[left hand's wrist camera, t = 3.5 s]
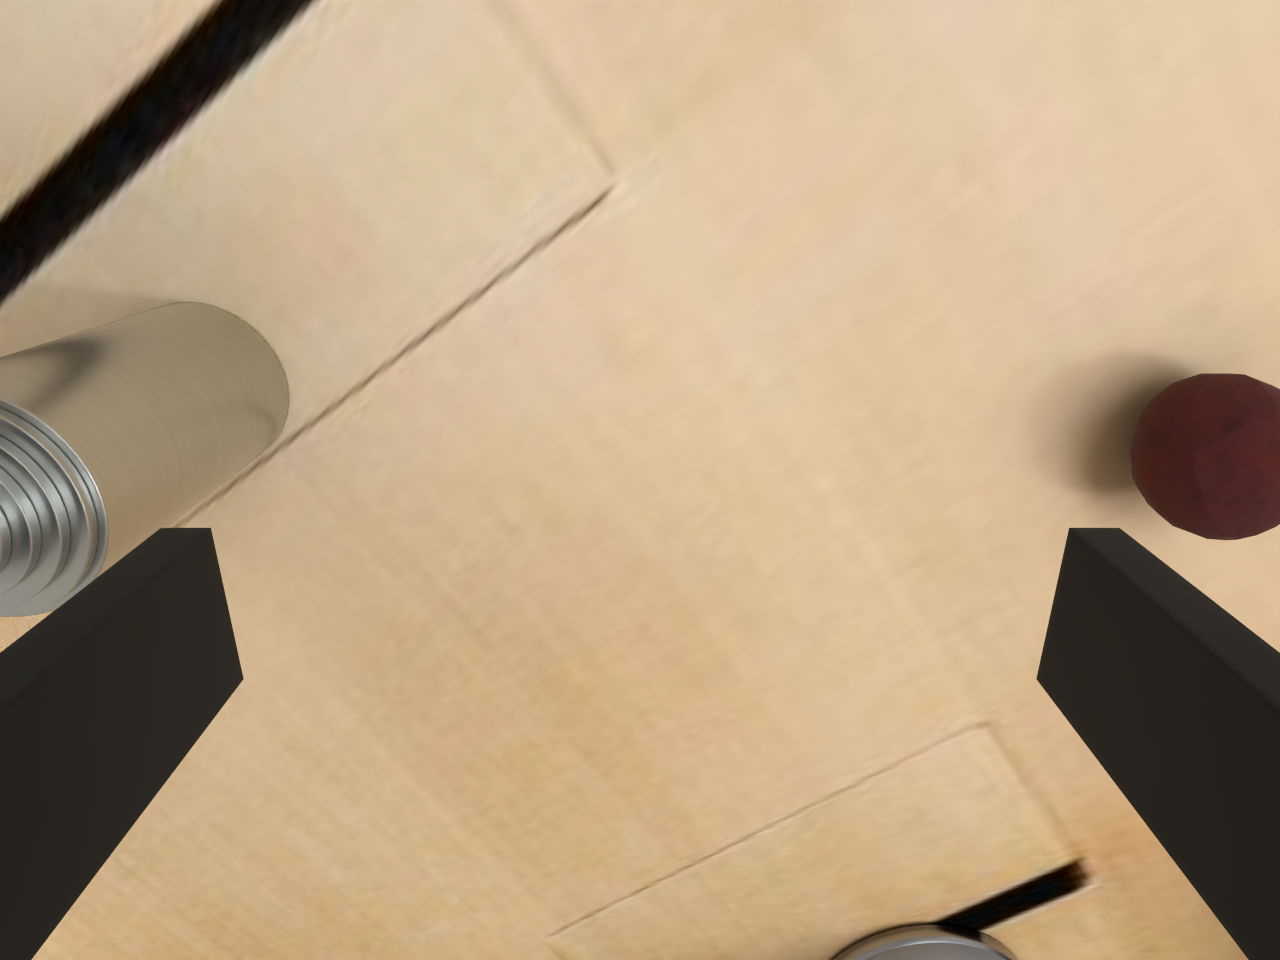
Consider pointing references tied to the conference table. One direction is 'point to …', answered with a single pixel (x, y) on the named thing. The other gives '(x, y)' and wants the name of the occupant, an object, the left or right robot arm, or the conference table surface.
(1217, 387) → the dark maroon ball
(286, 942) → the conference table surface
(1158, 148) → the conference table surface
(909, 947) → the right robot arm
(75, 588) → the bottle
